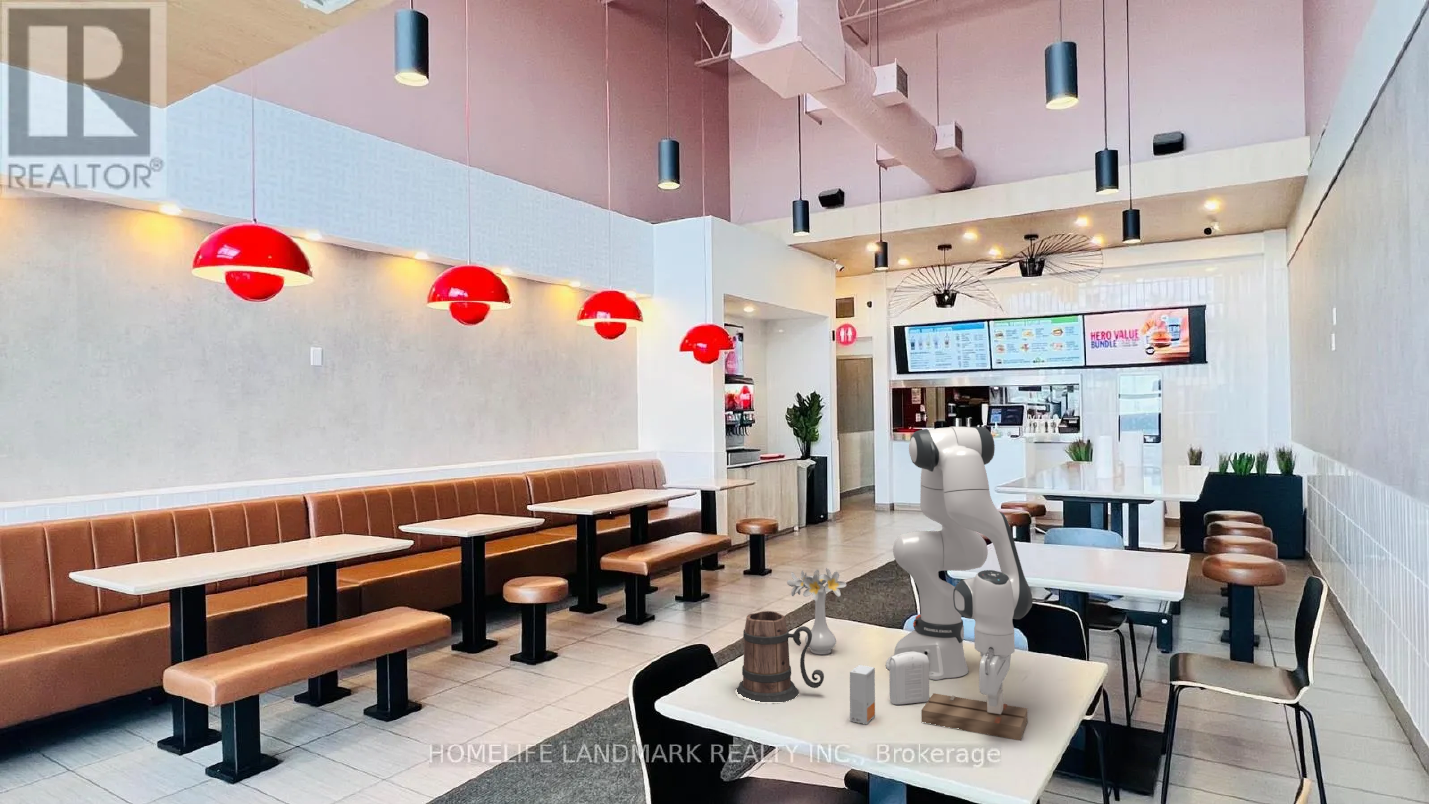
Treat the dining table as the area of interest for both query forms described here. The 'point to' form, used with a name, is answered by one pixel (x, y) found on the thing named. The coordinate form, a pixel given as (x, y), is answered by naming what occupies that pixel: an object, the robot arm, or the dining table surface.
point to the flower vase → (818, 606)
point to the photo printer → (909, 678)
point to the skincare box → (862, 694)
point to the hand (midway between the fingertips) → (995, 701)
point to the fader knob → (999, 707)
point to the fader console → (975, 716)
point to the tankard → (771, 659)
